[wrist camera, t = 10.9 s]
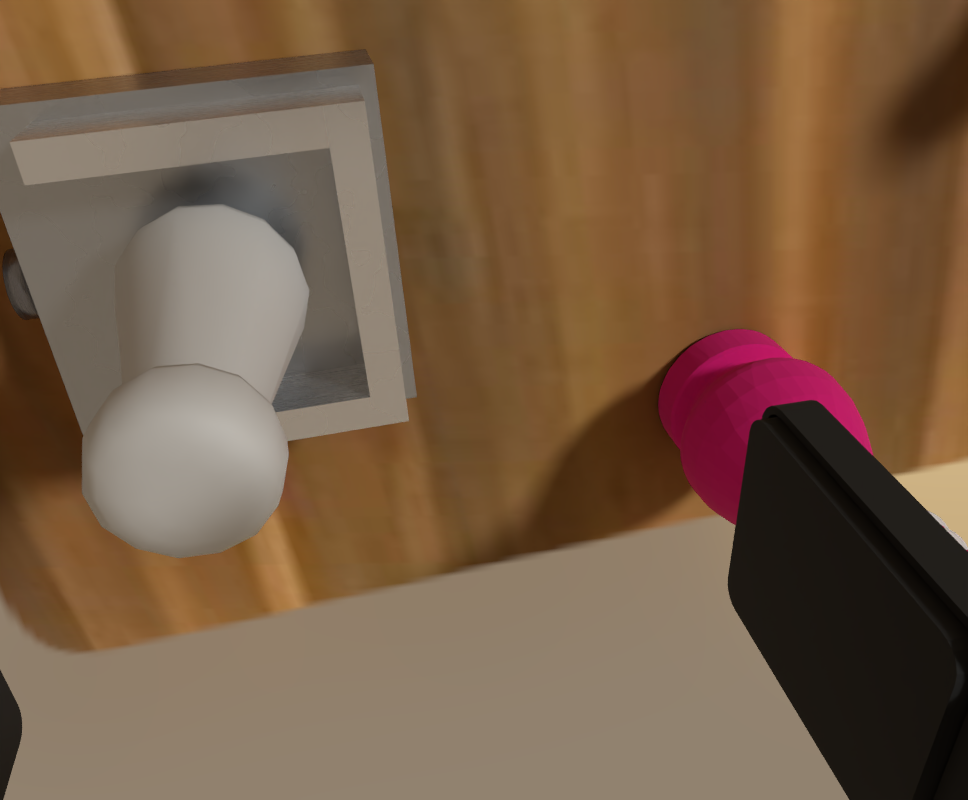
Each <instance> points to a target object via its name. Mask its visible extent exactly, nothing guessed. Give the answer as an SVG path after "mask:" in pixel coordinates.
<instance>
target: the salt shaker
mask: <svg viewBox="0 0 968 800" xmlns="http://www.w3.org/2000/svg"><path fill="white" fill-rule="evenodd" d="M308 297H309V288H308V286H307V283H306V280H305V277H304V275H303V272H302V269H301V266H300V264H299V261H298V258H297V255H296V253H295V250H294V248H293V247H292V246H291V245H290V244H289V243H288V242H287V241H286V240H285V239H284V238H283V237H281V236H280V235H279V234H278V233H277V232H276V231H275V230H274V229H273V228H272V227H271V226H270V225H269V224H268V223H267V222H266V221H265V220H264V219H262V218H259V217H257V216H254V215H251V214H249V213H246V212H243V211H240V210H238V209H235V208H232V207H230V206H227V205H224V204H214V205H190V206H178V207H176V208H174V209H172V210H171V211H169V212H167V213H166V214H164V215H162V216H160V217H159V218H157V219H155V220H153V221H152V222H150V223H148V224H146V225H145V226H143V227H142V228H140V229H139V230H138V231H137V232H136V234H135V235H134V237H133V238H132V240H131V241H130V243H129V244H128V246H127V247H126V249H125V250H124V252H123V253H122V255H121V256H120V258H119V259H118V261H117V262H116V264H115V300H114V305H115V314H116V323H117V332H118V341H119V349H120V360H121V376H122V385H121V386H119V387H117V388H116V389H114V390H112V392H111V393H110V395H109V396H108V398H107V399H106V401H105V402H104V404H103V405H102V406H101V408H100V409H99V411H98V412H97V414H96V415H95V417H94V418H93V420H92V421H91V423H90V424H89V426H88V428H87V430H86V432H85V434H84V436H83V438H82V494H83V496H84V497H85V499H86V501H87V503H88V504H89V506H90V508H91V509H92V511H93V513H94V515H95V516H96V518H97V520H98V521H99V523H100V525H101V526H102V527H103V528H105V529H106V530H108V531H110V532H111V533H113V534H114V535H116V536H117V537H119V538H121V539H122V540H124V541H125V542H127V543H128V544H130V545H131V546H133V547H135V548H136V549H140V550H145V551H149V552H154V553H158V554H162V555H167V556H171V557H176V558H183V557H191V556H198V555H206V554H214V553H221V552H223V551H225V550H227V549H229V548H231V547H233V546H235V545H237V544H239V543H240V542H242V541H244V540H246V539H248V538H250V537H252V536H254V535H256V534H257V533H258V532H259V530H260V529H261V528H262V526H263V525H264V524H265V522H266V521H267V520H268V518H269V517H270V516H271V514H272V513H273V512H274V511H275V509H276V508H277V507H278V505H279V501H280V498H281V495H282V492H283V487H284V481H285V474H286V468H287V462H288V455H289V453H288V443H287V438H286V436H285V433H284V431H283V429H282V426H281V424H280V422H279V419H278V417H277V415H276V413H275V410H274V408H273V406H272V402H273V400H274V398H275V395H276V393H277V391H278V388H279V386H280V384H281V381H282V379H283V377H284V374H285V372H286V369H287V367H288V365H289V362H290V360H291V358H292V355H293V353H294V351H295V348H296V346H297V343H298V341H299V339H300V336H301V334H302V332H303V329H304V325H305V318H306V311H307V304H308Z"/></svg>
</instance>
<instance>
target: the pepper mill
mask: <svg viewBox="0 0 968 800" xmlns="http://www.w3.org/2000/svg"><path fill="white" fill-rule="evenodd" d="M807 400H815V401H818V402H819V403H821V404H822V405H823V406H824V407H825V408H826V409H827V410H828V411H829V412H830V413H831V414H832V415H833V416H834V417H835V418H836V419H837V420H838V421H839V422H840V423H841V424H842V425H843V426H844V427H845V428H846V429H847V430H848V431H849V432H850V433H851V434H852V435H853V436H854V437H855V438H856V439H857V440H858V441H859V442H860V443H861V444H862V445H863V446H864V447H865V448H866V449H867V450H868V451H869V452H870V453H871V454H872V455H873V453H872V449H871V445H870V442H869V438H868V434H867V431H866V428H865V425H864V422H863V420H862V418H861V416H860V414H859V412H858V410H857V408H856V406H855V404H854V402H853V400H852V399H851V398H850V397H849V395H848V394H847V393H846V392H845V391H844V389H843V388H842V387H841V386H840V385H839V384H838V382H837V381H836V380H835V379H834V378H833V377H832V376H831V375H830V374H828V373H827V372H826V371H825V370H823V369H821V368H820V367H818V366H816V365H813V364H811V363H809V362H806V361H803V360H798V359H793V358H792V357H791V356H790V355H789V354H788V353H787V352H786V351H785V350H784V349H782V348H781V347H780V346H779V345H778V344H777V343H776V342H775V341H774V340H772V339H771V338H769V337H768V336H766V335H764V334H762V333H760V332H756V331H753V330H745V329H734V330H726V331H722V332H718V333H715V334H712V335H709V336H707V337H705V338H704V339H702V340H700V341H698V342H697V343H695V344H693V345H692V346H690V347H689V348H688V349H687V350H686V351H685V352H684V353H683V354H682V355H681V356H679V357H678V359H677V360H676V361H675V363H674V364H673V365H672V366H671V368H670V369H669V370H668V372H667V375H666V377H665V379H664V381H663V383H662V386H661V388H660V392H659V401H658V408H659V416H660V419H661V421H662V424H663V427H664V429H665V430H666V432H667V433H668V435H669V436H670V437H671V439H672V440H673V441H674V443H675V444H676V445H677V447H678V448H679V449H680V454H681V462H682V466H683V471H684V473H685V475H686V478H687V480H688V482H689V484H690V485H691V486H692V488H693V489H694V490H695V492H696V493H697V494H698V495H699V496H700V497H701V499H702V500H703V501H704V502H705V503H706V504H707V505H708V506H709V507H710V508H711V509H712V510H713V511H715V512H716V513H717V514H719V515H720V516H722V517H723V518H725V519H726V520H728V521H730V522H731V523H733V524H735V525H736V520H737V513H738V507H739V500H740V493H741V486H742V479H743V473H744V466H745V459H746V452H747V445H748V439H749V432H750V428H751V425H752V423H753V422H754V421H756V420H760V419H762V415H763V413H764V411H765V410H766V408H768V407H770V406H774V405H780V404H787V403H794V402H800V401H807ZM928 512H929V511H928ZM929 513H930V514H931V515H932V516H933V517H934V518H935V519H936V520H937V521H938V522H939V523H940V524H941V525H942V526H943V527H944V528H945V529H946V530H947V531H948V532H949V533H950V534H951V535H952V536H953V537H954V538H955V539H956V540H957V541H958V542H959V543H960V544H961V545H962V546H963V547H964V548H965V549H966V550H967V551H968V547H967V545H966V543H965V542H964V541H963V539H962V538H961V537H960V536H958V535H957V534H956V533H955V532H953V531H951V530H949V528H948V527H947V525H946V524H945V523H944V521H943V520H942V519H940V517H938V516H937V515H935V514H934V513H932V512H929Z"/></svg>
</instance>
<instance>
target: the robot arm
mask: <svg viewBox="0 0 968 800" xmlns="http://www.w3.org/2000/svg"><path fill="white" fill-rule="evenodd" d="M728 590H729V595H730V599H731V602H732V605H733V606H734V609H735V611H736V612H737V613H738V615H739V617H740V619H741V620H742V622H743V624H744V625H745V627H746V629H747V630H748V632H749V634H750V635H751V637H752V639H753V640H754V642H755V644H756V645H757V647H758V649H759V650H760V652H761V654H762V655H763V657H764V658H765V660H766V662H767V663H768V665H769V667H770V669H771V670H772V672H773V674H774V675H775V677H776V679H777V680H778V682H779V684H780V685H781V687H782V688H783V690H784V692H785V693H786V695H787V697H788V699H789V700H790V702H791V703H792V705H793V707H794V708H795V710H796V712H797V713H798V715H799V717H800V718H801V720H802V722H803V723H804V725H805V727H806V728H807V730H808V732H809V733H810V735H811V736H812V738H813V740H814V742H815V743H816V745H817V747H818V748H819V750H820V752H821V753H822V755H823V757H824V758H825V760H826V762H827V763H828V765H829V766H830V768H831V770H832V772H833V773H834V775H835V777H836V778H837V780H838V782H839V783H840V785H841V786H842V788H843V790H844V791H845V793H846V795H847V796H848V798H849V800H968V551H967V550H966V549H965V548H964V547H963V546H962V545H961V544H960V543H959V542H958V541H957V540H956V539H955V538H954V537H953V536H952V535H951V534H950V533H949V532H948V531H947V530H946V529H945V528H944V527H943V526H942V525H941V524H940V523H939V522H938V521H937V520H936V519H935V518H934V517H933V516H932V515H931V514H930V513H929V512H928V511H927V510H926V509H925V508H924V507H923V506H922V505H921V504H920V503H919V502H918V501H917V500H916V499H915V498H914V497H913V496H912V495H911V494H910V493H909V492H908V491H907V490H906V489H905V488H904V487H903V486H902V485H901V484H900V483H899V482H898V481H897V480H896V479H895V478H894V477H893V476H892V475H891V474H890V473H889V472H888V471H887V470H886V468H885V467H884V466H883V465H882V464H881V463H880V462H879V461H878V460H877V459H876V458H875V457H874V456H873V455H872V454H871V453H870V452H869V451H868V450H867V449H866V448H865V447H864V446H863V445H862V444H861V443H860V442H859V441H858V440H857V439H856V438H855V437H854V436H853V435H852V434H851V433H850V432H849V431H848V430H847V429H846V428H845V427H844V426H843V425H842V424H841V423H840V422H839V421H838V420H837V419H836V418H835V417H834V416H833V415H832V414H831V413H830V412H829V411H828V410H827V409H826V408H825V407H824V406H823V405H822V404H821V403H819V402H818V401H815V400H807V401H800V402H794V403H787V404H780V405H774V406H770V407H768V408H766V410H765V411H764V413H763V415H762V419H760V420H756V421H754V422H753V423H752V425H751V428H750V432H749V439H748V445H747V452H746V459H745V466H744V473H743V479H742V486H741V493H740V500H739V507H738V513H737V520H736V527H735V534H734V541H733V549H732V554H731V561H730V568H729V575H728ZM21 735H22V718H21V713H20V709H19V707H18V704H17V702H16V700H15V698H14V696H13V694H12V692H11V690H10V688H9V687H8V684H7V682H6V681H5V679H4V677H3V675H2V673H1V671H0V800H3V798H4V795H5V791H6V788H7V785H8V781H9V778H10V774H11V771H12V768H13V765H14V761H15V758H16V754H17V751H18V748H19V744H20V740H21Z"/></svg>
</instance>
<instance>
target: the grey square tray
mask: <svg viewBox="0 0 968 800" xmlns="http://www.w3.org/2000/svg"><path fill="white" fill-rule="evenodd" d="M214 204H224V205H227V206H230V207H232V208H235V209H238V210H240V211H243V212H246V213H249V214H251V215H254V216H257V217H259V218H262V219H264V220H265V221H266V222H267V223H268V224H269V225H270V226H271V227H272V228H273V229H274V230H275V231H276V232H277V233H278V234H279V235H280V236H281V237H283V238H284V239H285V240H286V241H287V242H288V243H289V244H290V245H291V246H292V247H293V248H294V250H295V253H296V255H297V258H298V261H299V264H300V266H301V269H302V272H303V275H304V277H305V280H306V283H307V286H308V288H309V297H308V304H307V311H306V318H305V325H304V329H303V332H302V334H301V336H300V339H299V341H298V343H297V346H296V348H295V351H294V353H293V355H292V358H291V360H290V362H289V365H288V367H287V369H286V372H285V374H284V377H283V379H282V381H281V384H280V386H279V388H278V391H277V393H276V395H275V398H274V400H273V402H272V406H273V408H274V410H275V413H276V415H277V417H278V419H279V422H280V424H281V426H282V429H283V431H284V433H285V436H286V438H287V441H291V440H297V439H303V438H309V437H315V436H321V435H327V434H333V433H339V432H345V431H351V430H357V429H363V428H369V427H375V426H381V425H387V424H393V423H399V422H405V421H409V418H408V411H407V403H406V399H407V398H413V397H417V395H416V387H415V380H414V372H413V364H412V357H411V349H410V341H409V333H408V326H407V318H406V310H405V303H404V295H403V287H402V280H401V272H400V264H399V257H398V249H397V241H396V234H395V226H394V218H393V210H392V203H391V195H390V187H389V180H388V172H387V164H386V157H385V149H384V141H383V134H382V126H381V118H380V111H379V103H378V95H377V87H376V80H375V72H374V64H373V62H372V60H371V59H370V57H369V55H368V53H367V51H366V49H364V50H355V51H346V52H337V53H327V54H318V55H309V56H300V57H291V58H281V59H272V60H263V61H254V62H245V63H235V64H226V65H217V66H208V67H199V68H189V69H180V70H171V71H162V72H153V73H143V74H134V75H125V76H116V77H107V78H97V79H88V80H79V81H70V82H61V83H51V84H42V85H33V86H24V87H15V88H5V89H0V212H1V215H2V218H3V221H4V223H5V226H6V229H7V231H8V234H9V237H10V239H11V242H12V245H13V247H14V249H8V250H7V251H6V252H5V254H4V258H3V277H4V283H5V287H6V291H7V294H8V297H9V299H10V302H11V304H12V306H13V308H14V310H15V311H16V313H17V314H18V315H19V316H20V317H21V318H22V319H24V320H28V319H35V318H40V320H41V323H42V326H43V328H44V331H45V334H46V336H47V339H48V342H49V345H50V347H51V350H52V353H53V355H54V358H55V361H56V363H57V366H58V369H59V372H60V374H61V377H62V380H63V382H64V385H65V388H66V390H67V393H68V396H69V399H70V401H71V404H72V407H73V409H74V412H75V415H76V417H77V420H78V423H79V425H80V428H81V431H82V434H83V436H84V434H85V432H86V430H87V428H88V426H89V424H90V423H91V421H92V420H93V418H94V417H95V415H96V414H97V412H98V411H99V409H100V408H101V406H102V405H103V404H104V402H105V401H106V399H107V398H108V396H109V395H110V393H111V392H112V390H114V389H116V388H117V387H119V386H121V385H122V376H121V360H120V349H119V341H118V332H117V323H116V314H115V305H114V300H115V264H116V262H117V261H118V259H119V258H120V256H121V255H122V253H123V252H124V250H125V249H126V247H127V246H128V244H129V243H130V241H131V240H132V238H133V237H134V235H135V234H136V232H137V231H138V230H139V229H140V228H142V227H143V226H145V225H146V224H148V223H150V222H152V221H153V220H155V219H157V218H159V217H160V216H162V215H164V214H166V213H167V212H169V211H171V210H172V209H174V208H176V207H178V206H190V205H214Z"/></svg>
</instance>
